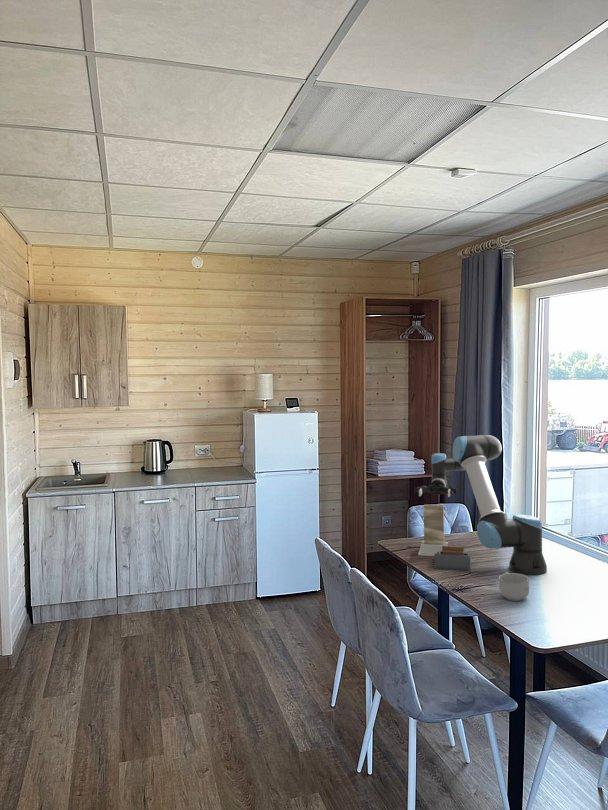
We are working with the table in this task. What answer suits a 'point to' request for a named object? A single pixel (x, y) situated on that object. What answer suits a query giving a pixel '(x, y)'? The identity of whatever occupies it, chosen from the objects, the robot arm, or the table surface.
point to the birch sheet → (433, 524)
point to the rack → (452, 561)
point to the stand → (430, 549)
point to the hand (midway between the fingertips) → (434, 493)
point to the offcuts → (453, 550)
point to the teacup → (514, 586)
